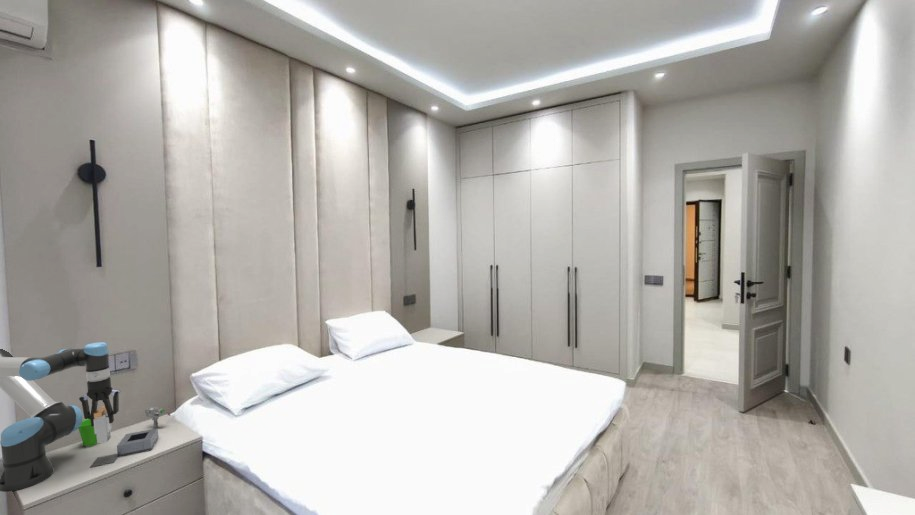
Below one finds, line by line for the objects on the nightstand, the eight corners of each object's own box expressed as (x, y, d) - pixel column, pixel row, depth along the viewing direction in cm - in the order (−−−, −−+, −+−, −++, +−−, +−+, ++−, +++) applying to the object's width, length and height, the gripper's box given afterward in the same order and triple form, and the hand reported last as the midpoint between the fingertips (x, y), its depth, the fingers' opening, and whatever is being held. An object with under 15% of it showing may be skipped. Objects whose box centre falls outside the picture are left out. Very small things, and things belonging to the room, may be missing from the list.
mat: (89, 467, 168) (89, 466, 168) (97, 458, 175) (97, 457, 175) (113, 462, 171) (113, 461, 171) (120, 453, 178) (120, 452, 178)
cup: (109, 439, 192) (107, 417, 191) (90, 449, 183) (88, 426, 182) (92, 438, 193) (90, 416, 192) (72, 448, 184) (70, 425, 183)
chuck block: (117, 457, 175) (116, 446, 175) (126, 444, 186) (126, 434, 186) (151, 450, 180) (150, 439, 180) (158, 438, 191) (157, 428, 191)
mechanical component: (161, 429, 200) (160, 410, 199) (145, 428, 202) (143, 409, 201) (166, 426, 203) (165, 408, 202) (150, 425, 205) (149, 406, 204)
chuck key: (95, 445, 168) (92, 413, 167) (102, 437, 175) (99, 406, 174) (105, 443, 169) (102, 412, 169) (112, 435, 177) (109, 405, 176)
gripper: (69, 385, 164) (74, 440, 165) (119, 378, 171) (124, 430, 172) (77, 379, 171) (82, 432, 172) (125, 372, 178) (130, 423, 179)
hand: (103, 431), depth 172 cm, fingers closed on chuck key, 3 cm apart
